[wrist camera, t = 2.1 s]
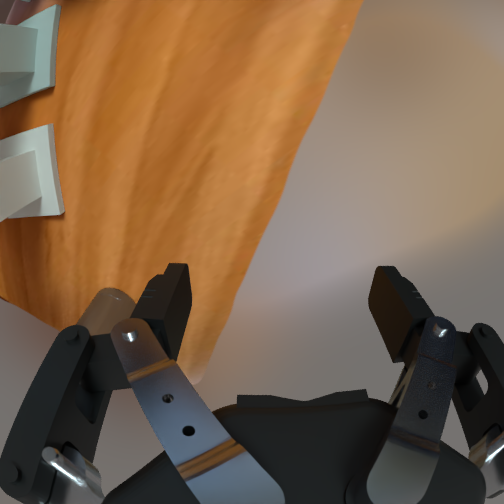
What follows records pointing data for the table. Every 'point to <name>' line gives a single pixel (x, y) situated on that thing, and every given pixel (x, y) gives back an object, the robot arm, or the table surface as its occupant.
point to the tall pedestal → (29, 175)
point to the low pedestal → (28, 55)
